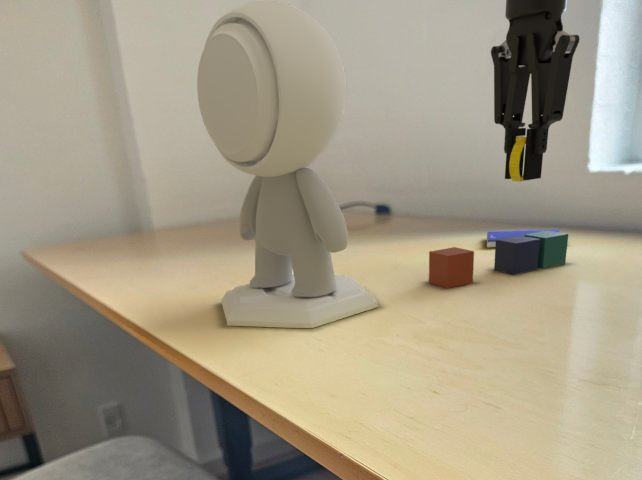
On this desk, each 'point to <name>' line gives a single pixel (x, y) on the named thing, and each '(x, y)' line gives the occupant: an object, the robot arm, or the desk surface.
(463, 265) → the block terracotta
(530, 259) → the block navy
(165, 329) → the desk surface
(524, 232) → the hard drive
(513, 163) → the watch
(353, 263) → the desk surface
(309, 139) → the white toy figurine
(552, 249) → the block teal
